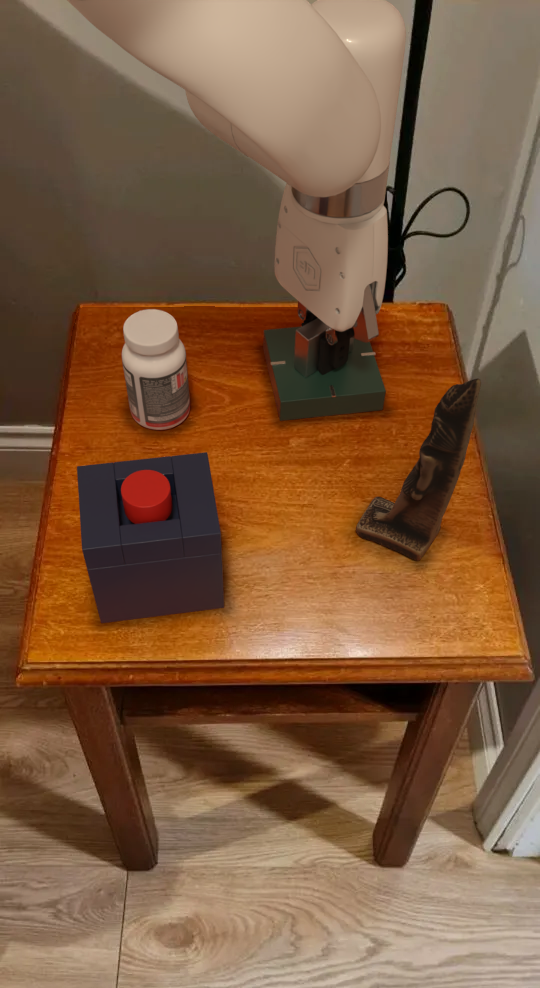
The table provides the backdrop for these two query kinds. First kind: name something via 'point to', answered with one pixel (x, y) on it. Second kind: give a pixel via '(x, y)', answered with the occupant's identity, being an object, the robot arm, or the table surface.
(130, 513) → the red button
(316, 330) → the tap handle
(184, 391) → the pill bottle
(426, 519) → the statue
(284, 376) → the panel
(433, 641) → the table surface
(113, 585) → the button box
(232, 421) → the table surface
